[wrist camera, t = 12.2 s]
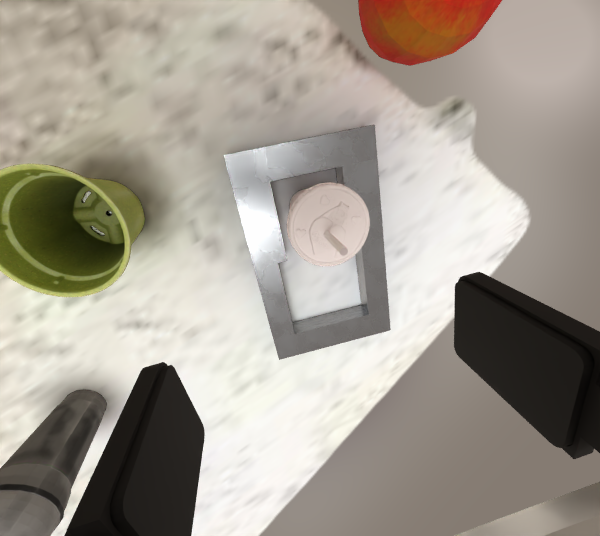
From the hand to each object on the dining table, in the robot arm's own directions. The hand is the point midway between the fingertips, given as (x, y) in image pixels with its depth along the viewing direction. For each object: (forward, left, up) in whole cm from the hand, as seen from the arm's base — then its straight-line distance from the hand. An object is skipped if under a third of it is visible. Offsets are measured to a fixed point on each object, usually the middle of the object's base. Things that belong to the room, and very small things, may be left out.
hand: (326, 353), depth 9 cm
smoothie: (0, +4, -23) cm, 23 cm away
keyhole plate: (+4, +4, -23) cm, 23 cm away
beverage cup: (+17, -27, -23) cm, 40 cm away
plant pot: (-4, -15, -23) cm, 28 cm away
